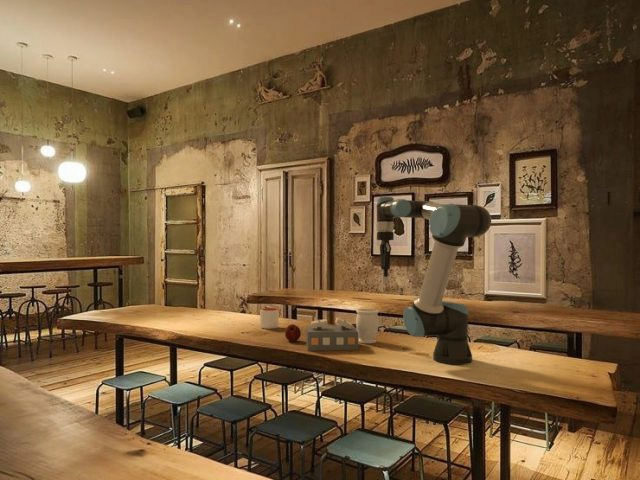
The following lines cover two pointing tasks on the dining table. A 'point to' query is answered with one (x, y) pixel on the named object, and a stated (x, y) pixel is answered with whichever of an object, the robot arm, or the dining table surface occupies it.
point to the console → (331, 338)
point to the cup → (269, 318)
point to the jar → (367, 325)
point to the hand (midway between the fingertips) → (385, 283)
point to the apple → (292, 333)
